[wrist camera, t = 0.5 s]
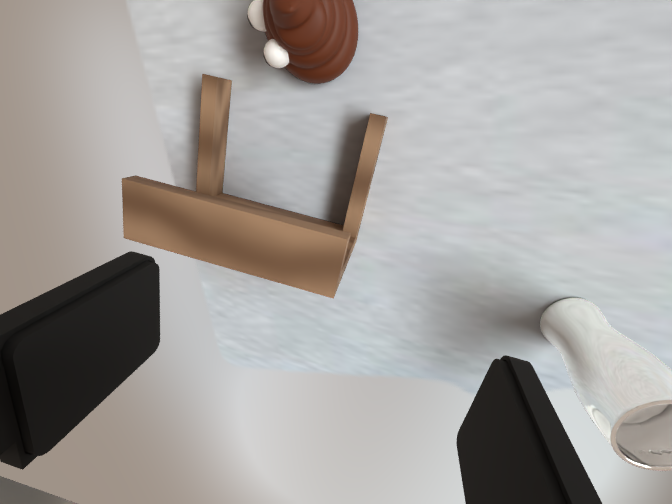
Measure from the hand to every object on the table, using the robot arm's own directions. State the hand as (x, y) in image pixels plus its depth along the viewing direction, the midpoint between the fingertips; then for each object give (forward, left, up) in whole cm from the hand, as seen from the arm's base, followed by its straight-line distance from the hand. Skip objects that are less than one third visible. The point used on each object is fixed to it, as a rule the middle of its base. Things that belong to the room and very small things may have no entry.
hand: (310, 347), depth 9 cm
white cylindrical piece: (+10, +24, -29) cm, 39 cm away
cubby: (0, -10, -29) cm, 31 cm away
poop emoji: (-12, -10, -29) cm, 33 cm away
